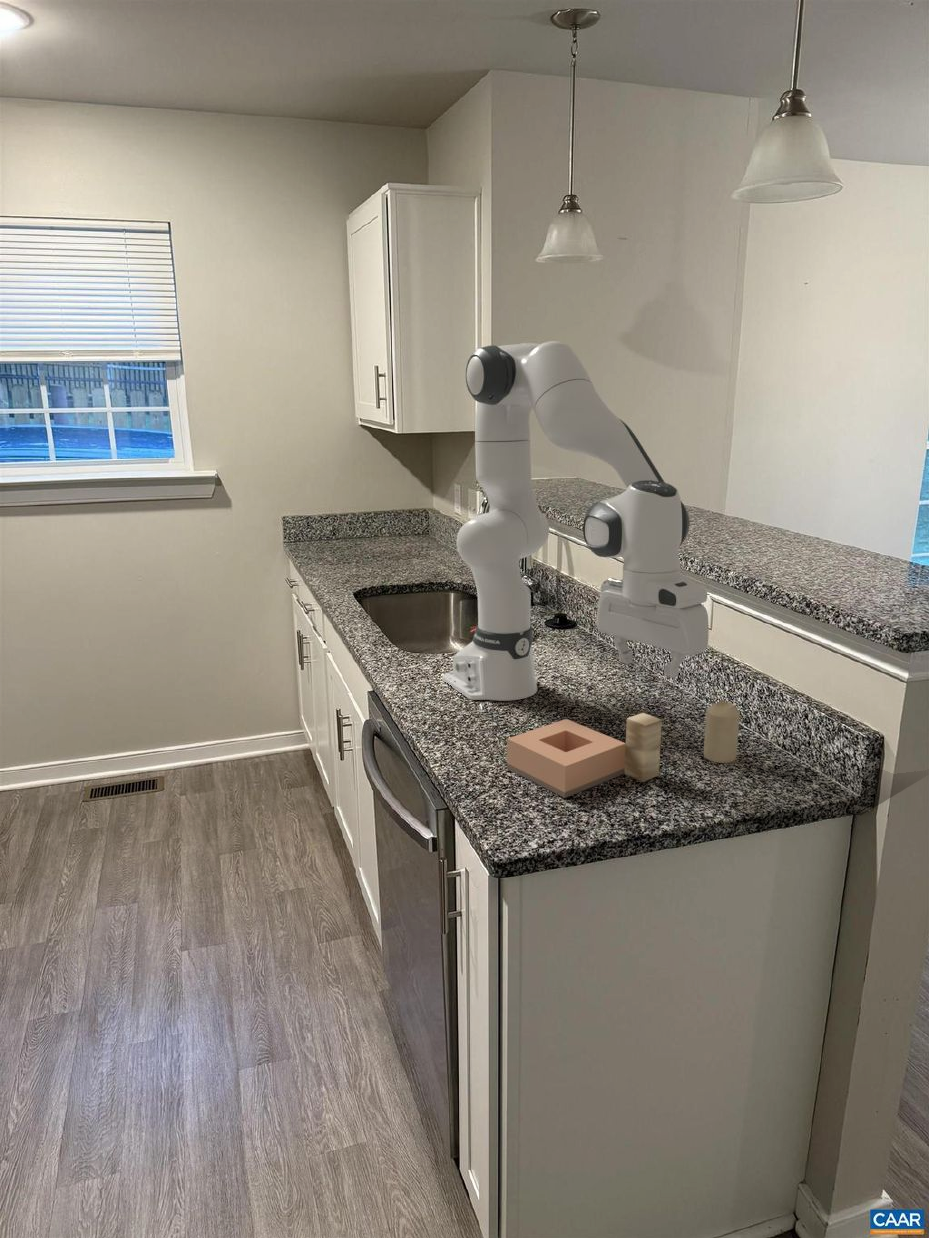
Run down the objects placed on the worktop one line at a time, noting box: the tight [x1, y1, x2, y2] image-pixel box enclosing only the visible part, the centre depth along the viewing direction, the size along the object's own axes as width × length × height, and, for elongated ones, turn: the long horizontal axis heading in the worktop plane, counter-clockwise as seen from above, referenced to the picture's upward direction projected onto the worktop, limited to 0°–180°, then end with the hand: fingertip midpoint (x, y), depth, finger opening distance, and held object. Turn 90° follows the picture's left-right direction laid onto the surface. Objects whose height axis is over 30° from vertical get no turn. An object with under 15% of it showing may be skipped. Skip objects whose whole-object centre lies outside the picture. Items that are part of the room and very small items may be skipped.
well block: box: [506, 718, 626, 799], centre depth 142 cm, size 14×14×6 cm
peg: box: [623, 712, 663, 783], centre depth 140 cm, size 4×4×10 cm
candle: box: [703, 700, 741, 764], centre depth 146 cm, size 6×6×10 cm
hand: (647, 669), depth 136 cm, fingers open, 8 cm apart
